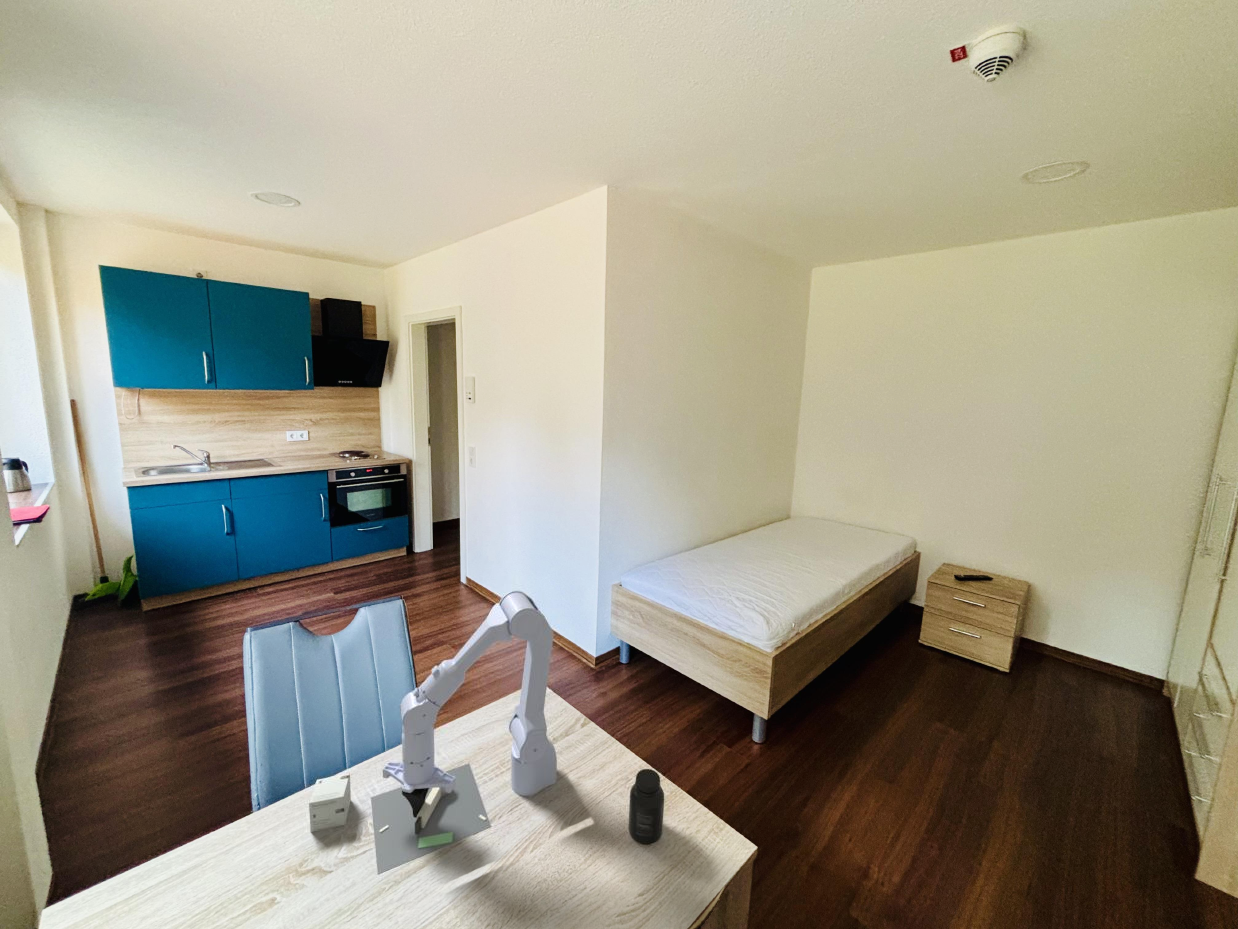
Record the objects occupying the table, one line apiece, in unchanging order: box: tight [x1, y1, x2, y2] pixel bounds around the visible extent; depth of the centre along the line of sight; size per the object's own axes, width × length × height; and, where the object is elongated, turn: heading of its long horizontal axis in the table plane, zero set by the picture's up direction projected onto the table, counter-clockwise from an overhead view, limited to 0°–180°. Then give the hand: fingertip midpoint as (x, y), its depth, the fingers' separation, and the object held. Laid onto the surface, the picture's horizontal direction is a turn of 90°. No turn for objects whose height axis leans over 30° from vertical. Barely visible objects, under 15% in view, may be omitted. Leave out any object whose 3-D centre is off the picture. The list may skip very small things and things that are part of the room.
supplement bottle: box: [628, 768, 665, 846], centre depth 96 cm, size 7×7×12 cm
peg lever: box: [415, 773, 449, 835], centre depth 99 cm, size 12×4×3 cm, turn 175°
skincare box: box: [308, 773, 352, 833], centre depth 96 cm, size 6×6×7 cm
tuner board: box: [370, 763, 492, 875], centre depth 98 cm, size 20×18×1 cm
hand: (419, 813), depth 96 cm, fingers closed, pressing on peg lever
